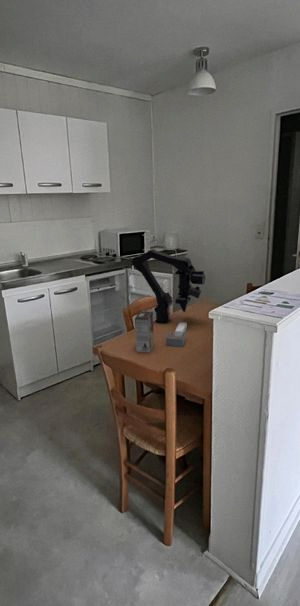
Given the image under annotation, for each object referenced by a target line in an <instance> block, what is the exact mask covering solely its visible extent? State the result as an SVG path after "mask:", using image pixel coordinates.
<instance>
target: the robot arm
mask: <svg viewBox="0 0 300 606" xmlns="http://www.w3.org/2000/svg"><path fill="white" fill-rule="evenodd" d="M151 259H154V260H157V261H159V262H162V263H164V264H168V265H171V266H173V268H175V269H177V270H176V271H175V272H174V275H178V285H177V288H178V293H177V295H178V296H177V297H176V298H175V299H174V300H175V301H174V302H175V304H177V305H178V304H179V307H180V308H181V310H182V313H186V310H187V306H188V304H189V302H190V300H191V299H192V297H194V298H196V299H199V298H200V296H201V293H202V289H200V286H198V285H205V282H206V275H205V271H204V270H196V268H195V266H193V264H192V260H191V259H190V258H189V257H184V256H183V257H182V256H174V255H171V254H167V253H164V252H161V251H159V250H155V249H153V248H152V249H150V250H147V252H144V254H140V255H137V256H134V257H133V258H132V260H131V264H132V266H133V267H134V268H135V269H136V271H138V272H140V274H142V276H143V278H144V279H145V281H146V282H147V284H148V286H149V288H150V289H151V290H152V292H153V294H154V295H155V300H156V304H157V305H156V306H155V307H154V312H155V316H156V317H155V323H156V324H168V323H169V321H170V319H171V318H170V317H171V316H170V315H171V314H170V312H169V309H170V307H171V306H172V305H173V297H172V296H171V294H170V292H169V291H168V292H165V291H164V290H163V288H162V287H161V285H160V283H159V282H158V280H157V279H156V277H155V276H154V274H153V272H152V271H151V269H150V265H149V260H151ZM192 285H196V286H195V287H192ZM191 296H192V297H191Z"/></svg>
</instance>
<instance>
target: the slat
mask: <svg viewBox="0 0 300 606" xmlns="http://www.w3.org/2000/svg"><path fill="white" fill-rule="evenodd" d="M187 325H188V324H187V322H181V321H180V322H179V323H178V325H177V326H176V329H175V331H174V336H175V337H179V338H181V336H182V334H183V332H186V330H187V327H188V326H187Z"/></svg>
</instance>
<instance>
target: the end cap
mask: <svg viewBox="0 0 300 606" xmlns="http://www.w3.org/2000/svg"><path fill="white" fill-rule="evenodd" d="M186 334H187V332H186V331H185V332H183V334H182V336H181V337H173V331H170V330H169V332H168V334H167V336H166V338H165V345H166V346H172V347H182V348H183V347H184V344H185V342H186V340H187V339H186V337H187V335H186Z"/></svg>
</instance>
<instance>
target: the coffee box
mask: <svg viewBox="0 0 300 606" xmlns="http://www.w3.org/2000/svg"><path fill="white" fill-rule="evenodd" d="M134 324H135V341H136V342H135V343H136V344H135V345H136V347H135V348H136V352H137V353H138V352H139V353H140V352H141V353H151V351H152V349H153V347H154V345H155V339H154V338H155V334H154V333H155V332H154V312H153V311H139V312H138V314H137V315H136V316H135V318H134Z"/></svg>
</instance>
